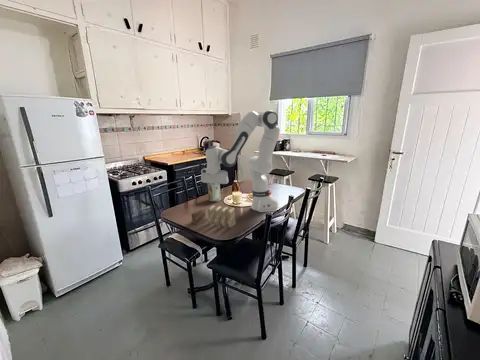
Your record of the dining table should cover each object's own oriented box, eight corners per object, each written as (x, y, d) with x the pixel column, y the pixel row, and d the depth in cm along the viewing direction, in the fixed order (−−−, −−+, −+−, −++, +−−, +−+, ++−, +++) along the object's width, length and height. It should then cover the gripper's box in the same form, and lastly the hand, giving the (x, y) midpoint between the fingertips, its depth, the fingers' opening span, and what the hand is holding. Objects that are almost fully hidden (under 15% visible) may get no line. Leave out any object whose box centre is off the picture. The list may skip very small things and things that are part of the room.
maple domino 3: (228, 222, 155) (228, 207, 152) (224, 226, 150) (223, 210, 147) (226, 222, 156) (225, 207, 153) (222, 226, 150) (221, 210, 148)
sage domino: (219, 197, 167) (218, 182, 164) (215, 200, 162) (214, 185, 159) (217, 196, 168) (215, 182, 165) (213, 199, 163) (211, 184, 160)
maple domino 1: (216, 220, 159) (215, 205, 156) (211, 224, 153) (210, 209, 150) (213, 220, 159) (212, 205, 157) (209, 224, 154) (207, 208, 151)
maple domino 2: (222, 221, 157) (221, 206, 154) (218, 225, 152) (217, 209, 149) (219, 221, 158) (218, 206, 155) (215, 225, 152) (214, 209, 149)
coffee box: (221, 199, 199) (220, 181, 195) (218, 202, 193) (217, 183, 189) (212, 198, 202) (210, 180, 198) (208, 201, 196) (207, 182, 192)
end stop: (205, 216, 165) (204, 207, 163) (196, 224, 155) (195, 214, 153) (201, 216, 166) (201, 207, 165) (192, 223, 156) (191, 213, 154)
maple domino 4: (235, 223, 153) (234, 208, 150) (231, 227, 148) (230, 211, 145) (232, 223, 154) (231, 207, 151) (228, 227, 149) (227, 211, 146)
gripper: (229, 169, 158) (230, 188, 162) (203, 168, 166) (205, 186, 170) (225, 171, 153) (226, 191, 157) (198, 170, 161) (200, 189, 164)
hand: (215, 188), depth 163 cm, fingers closed on sage domino, 2 cm apart
